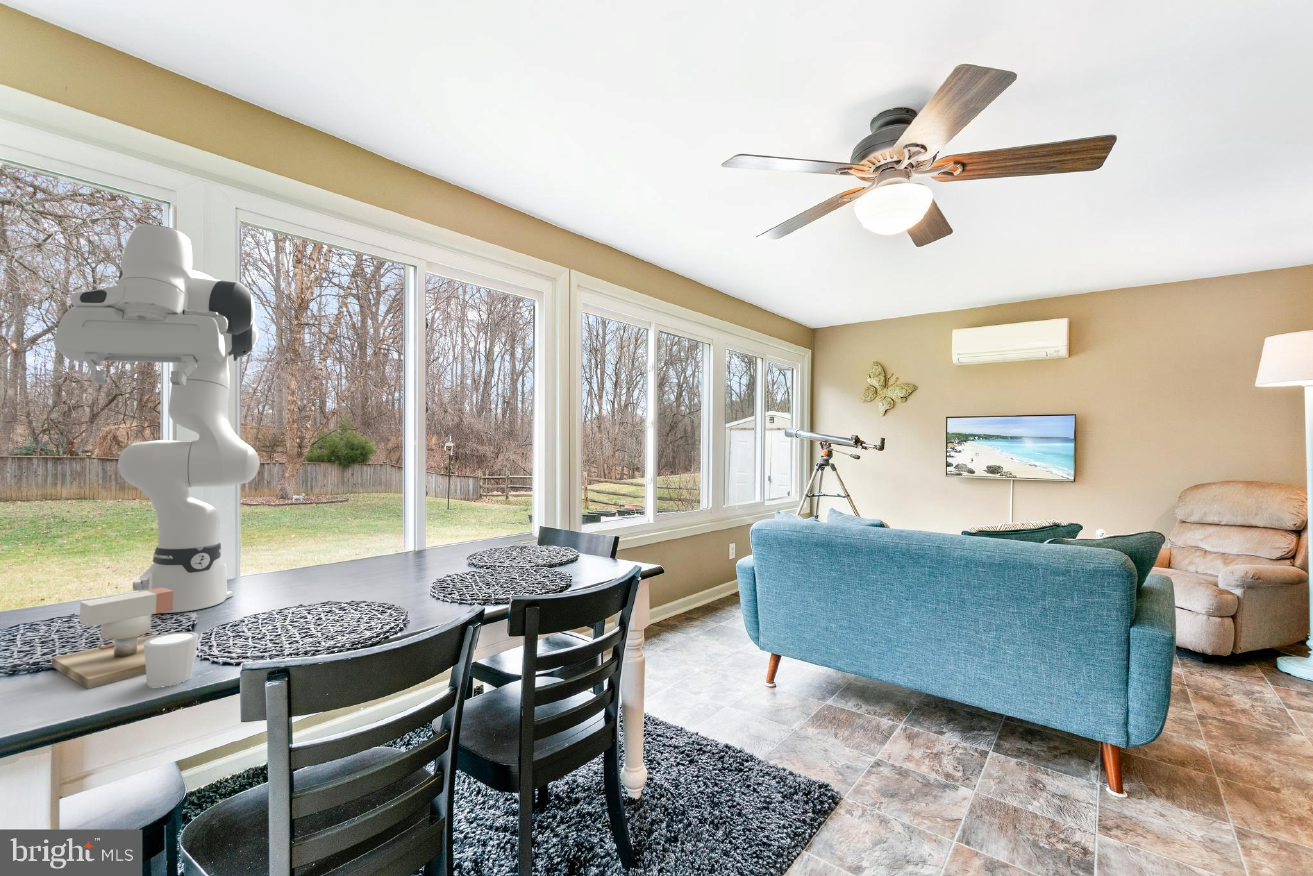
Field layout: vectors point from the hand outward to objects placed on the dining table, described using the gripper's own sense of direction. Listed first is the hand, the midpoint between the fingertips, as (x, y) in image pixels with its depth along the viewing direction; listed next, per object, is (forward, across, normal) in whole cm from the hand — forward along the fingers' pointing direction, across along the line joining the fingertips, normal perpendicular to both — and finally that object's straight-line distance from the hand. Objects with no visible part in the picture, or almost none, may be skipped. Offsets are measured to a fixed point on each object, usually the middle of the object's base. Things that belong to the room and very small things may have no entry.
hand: (139, 383), depth 86 cm
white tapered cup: (+43, 0, -24) cm, 50 cm away
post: (+37, +9, -33) cm, 50 cm away
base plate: (+38, +9, -34) cm, 52 cm away
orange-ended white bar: (+33, +9, -32) cm, 47 cm away
